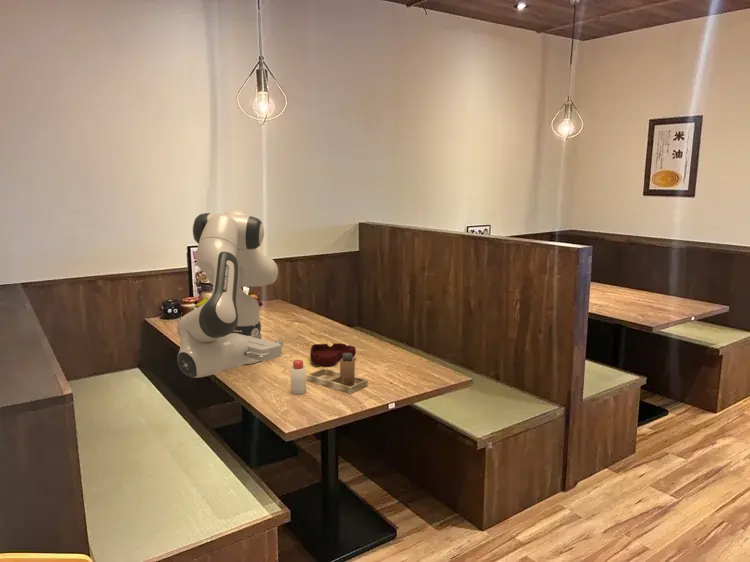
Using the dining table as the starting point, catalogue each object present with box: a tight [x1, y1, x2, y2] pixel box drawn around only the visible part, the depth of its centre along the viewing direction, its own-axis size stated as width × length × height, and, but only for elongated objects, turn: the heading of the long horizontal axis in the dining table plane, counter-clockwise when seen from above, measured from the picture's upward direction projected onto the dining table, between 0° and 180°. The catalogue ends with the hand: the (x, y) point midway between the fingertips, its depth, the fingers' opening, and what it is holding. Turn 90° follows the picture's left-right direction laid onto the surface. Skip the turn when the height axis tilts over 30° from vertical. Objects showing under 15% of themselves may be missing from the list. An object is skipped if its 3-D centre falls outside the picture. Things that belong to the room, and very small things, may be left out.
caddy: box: [306, 367, 369, 395], centre depth 192 cm, size 19×9×3 cm, turn 53°
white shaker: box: [290, 359, 307, 395], centre depth 184 cm, size 5×5×11 cm
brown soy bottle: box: [339, 353, 356, 386], centre depth 189 cm, size 5×5×11 cm
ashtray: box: [309, 342, 357, 367], centre depth 218 cm, size 18×16×5 cm
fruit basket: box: [190, 297, 209, 312], centre depth 270 cm, size 11×9×11 cm
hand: (270, 340), depth 172 cm, fingers open, 8 cm apart
